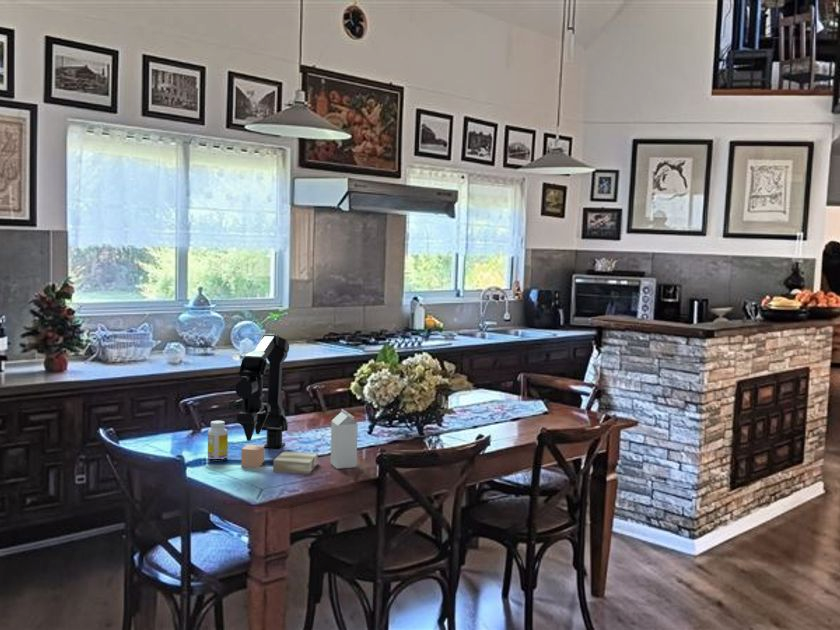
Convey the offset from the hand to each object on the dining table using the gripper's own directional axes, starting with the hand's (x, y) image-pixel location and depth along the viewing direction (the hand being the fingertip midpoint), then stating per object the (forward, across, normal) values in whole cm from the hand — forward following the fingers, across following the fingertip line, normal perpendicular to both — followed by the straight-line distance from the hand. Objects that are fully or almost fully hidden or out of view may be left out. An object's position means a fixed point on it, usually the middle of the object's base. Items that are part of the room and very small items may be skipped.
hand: (253, 437), depth 275 cm
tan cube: (+9, 0, 0) cm, 9 cm away
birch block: (+10, 0, +15) cm, 18 cm away
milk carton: (+10, -6, +30) cm, 32 cm away
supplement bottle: (+10, -4, -14) cm, 17 cm away
